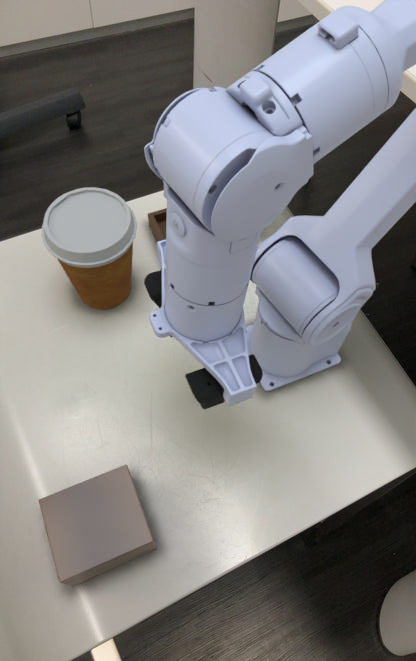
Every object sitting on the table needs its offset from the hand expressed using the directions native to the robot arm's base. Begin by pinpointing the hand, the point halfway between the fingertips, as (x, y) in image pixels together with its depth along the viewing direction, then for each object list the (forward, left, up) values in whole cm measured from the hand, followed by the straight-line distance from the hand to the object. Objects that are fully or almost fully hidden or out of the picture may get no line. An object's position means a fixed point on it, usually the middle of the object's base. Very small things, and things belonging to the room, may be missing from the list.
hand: (195, 365), depth 46 cm
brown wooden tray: (-10, -22, -9) cm, 26 cm away
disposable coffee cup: (+4, -18, -10) cm, 21 cm away
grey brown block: (+13, +8, -9) cm, 18 cm away
